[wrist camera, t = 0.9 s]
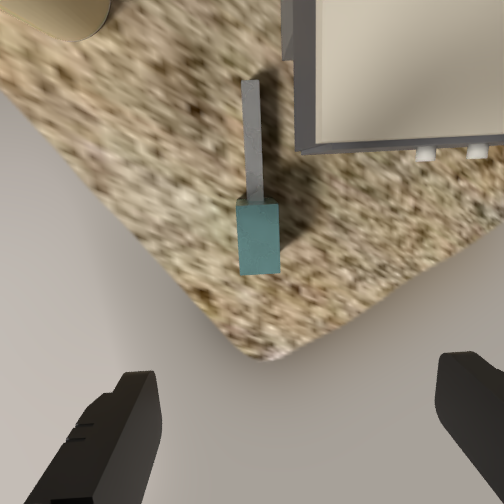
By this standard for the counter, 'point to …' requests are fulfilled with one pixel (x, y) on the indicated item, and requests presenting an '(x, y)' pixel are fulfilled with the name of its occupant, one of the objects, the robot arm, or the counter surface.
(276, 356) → the counter surface
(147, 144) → the counter surface
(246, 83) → the tool
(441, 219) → the counter surface
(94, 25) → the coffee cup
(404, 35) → the cabinet
